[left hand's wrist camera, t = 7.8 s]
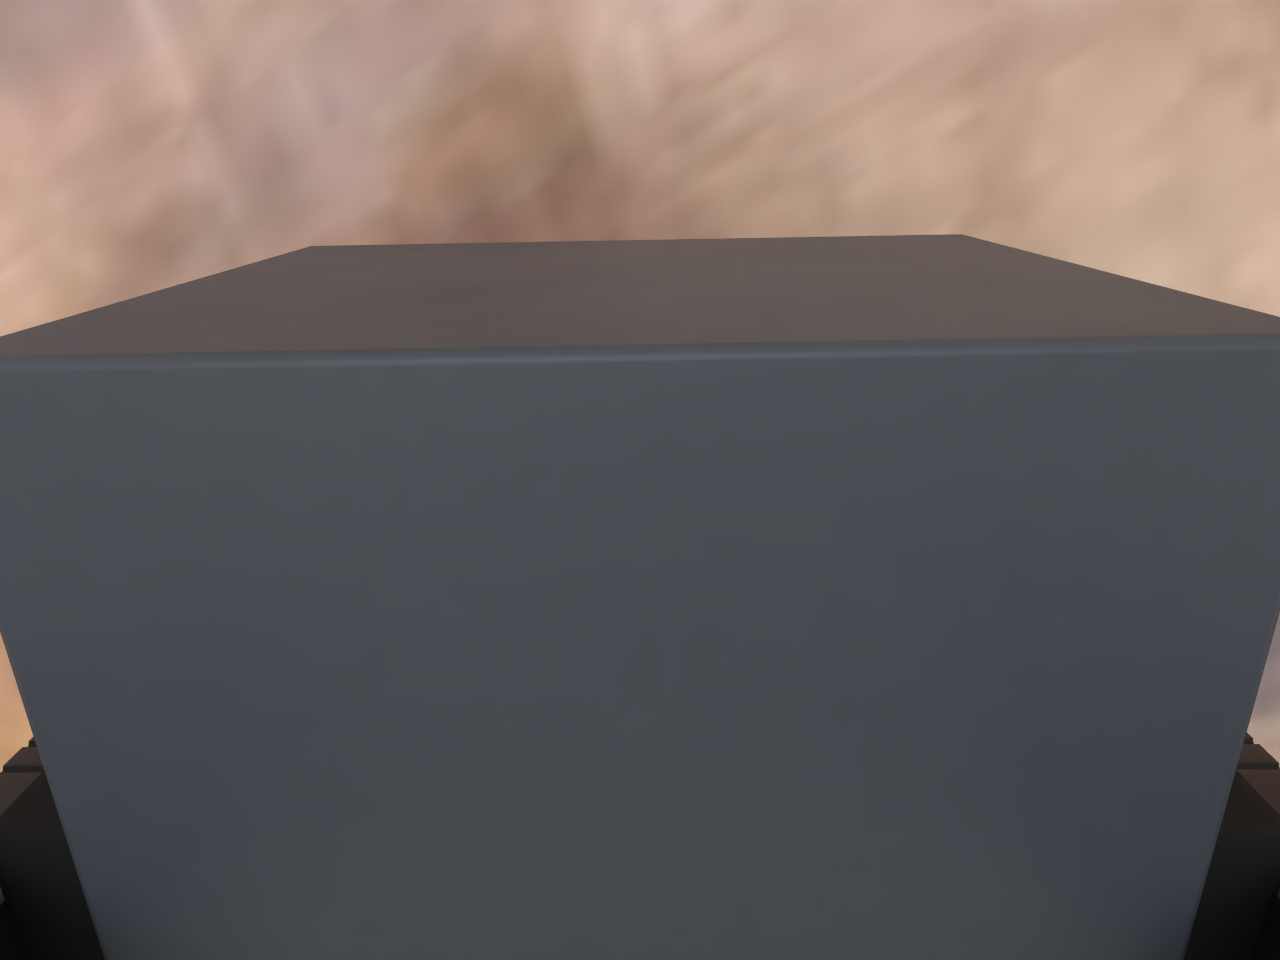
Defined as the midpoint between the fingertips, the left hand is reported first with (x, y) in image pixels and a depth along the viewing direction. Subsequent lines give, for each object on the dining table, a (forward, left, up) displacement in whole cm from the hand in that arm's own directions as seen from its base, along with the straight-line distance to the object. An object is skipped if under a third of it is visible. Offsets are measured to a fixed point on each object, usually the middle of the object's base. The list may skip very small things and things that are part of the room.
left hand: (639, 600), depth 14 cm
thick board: (-25, +11, -1) cm, 28 cm away
